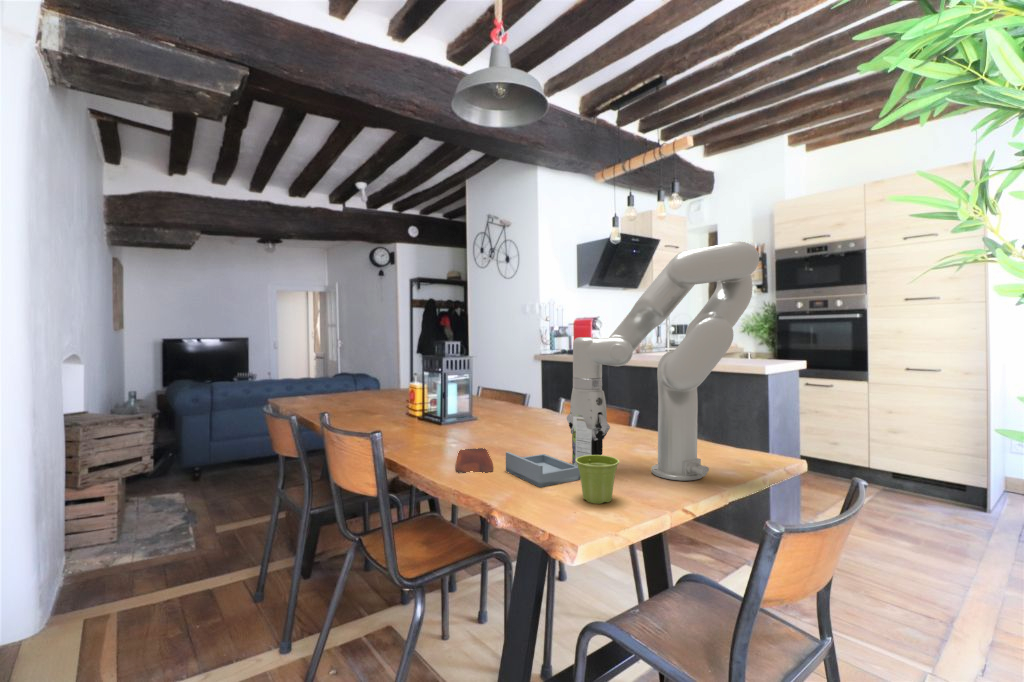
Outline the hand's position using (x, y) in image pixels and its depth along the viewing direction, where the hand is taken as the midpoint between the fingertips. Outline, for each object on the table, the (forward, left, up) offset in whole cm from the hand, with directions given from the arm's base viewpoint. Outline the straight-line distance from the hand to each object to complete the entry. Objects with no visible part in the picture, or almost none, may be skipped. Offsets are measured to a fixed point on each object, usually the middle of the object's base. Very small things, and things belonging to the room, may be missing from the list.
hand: (586, 451), depth 134 cm
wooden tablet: (+25, +20, -6) cm, 33 cm away
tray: (+2, +13, -5) cm, 14 cm away
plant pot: (-19, +13, -5) cm, 24 cm away
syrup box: (0, 0, -5) cm, 5 cm away
